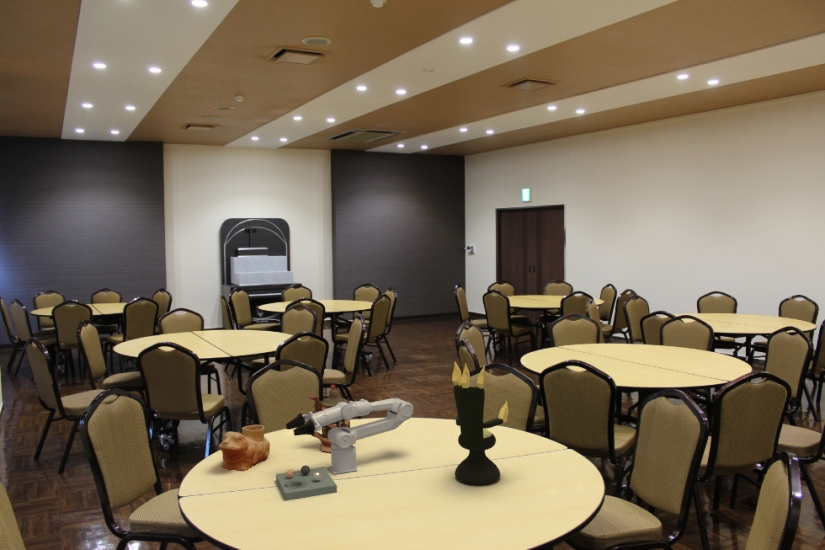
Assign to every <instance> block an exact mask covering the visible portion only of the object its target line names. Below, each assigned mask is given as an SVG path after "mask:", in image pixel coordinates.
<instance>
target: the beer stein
mask: <svg viewBox="0 0 825 550" xmlns="http://www.w3.org/2000/svg"><path fill="white" fill-rule="evenodd" d="M330 388H331V390H329V393H328V397H327V398H325V399H324V400H323V399H322V400H319V396H317V395H315V394H312V395H311V396H309V400H312V401H314V404H313V407H314V411H313V412H312V413H313V414H314V413H317V412H320V411H323V410H325V409H328V408H331V407H335V406H336V405H337V404H338V403H339V402H346V403H349V400H347V399H345V398H343V396H342V395H340V392H339V390H338V389H336V385H335V384H331V385H330ZM335 427H338V428H344V427H349V428H351V419H350V420H347V419H344V418H343V419H342V420H339V421H337V422H334V423H331V424H328V425H326V426H323V427H321V433H320V431H314V432H315V435H310V436H311V437H314V438H317V439H318V440H319V441H320V442H321V445H320V448H321V449H320V451H321V450H323V451H325V452H323V451H321V452H323V453H329V454H331V453H330V452H331V442H330V441H329V439H328V434H329V431H330V430H331V429H332V428H335ZM352 445H353V444H352ZM352 445H351V446H352Z"/></svg>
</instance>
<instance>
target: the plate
mask: <svg viewBox="0 0 825 550" xmlns="http://www.w3.org/2000/svg"><path fill="white" fill-rule="evenodd" d="M293 472H294V475H293V477H292V478H287V477H286V475H285V474H286V472H280V473H276V474H275V477H276V478H275V481H276V483H277V485H278V488H279V490H280V492H281V494H282V496H283V497H284V500H285V501H292V500H298V499H305V498H310V497H316V496H321V495H328V494H333V493H337V492H338V489H337V488H338V485H337V483H336V482H335V481H334V479H333V478H332V477H331V475H330V474H329V473H328V471H327V470H326V468H325V467H324V466H322V467H321V466H320V467H316V468H315V467H314V468H310V472H309V473H308V474H307V475H303V474H302V473H301V470H296V471H294V470H293ZM315 472H319V473H320V474H321V479H320V480H319V481H314V480H313V478H312V476H313V474H314V473H315Z"/></svg>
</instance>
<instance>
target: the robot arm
mask: <svg viewBox="0 0 825 550" xmlns="http://www.w3.org/2000/svg"><path fill="white" fill-rule="evenodd" d="M386 410H387V415H386V417H385V418H382V419H381V418H380V419H378V420H374V421H370V422H366V423H364V424H359V425H354V426H352V427H350V428H349V427H344V428H338V427H335V428H332V429H331V430H330V431H329V434H328V439H329V441H330V442H331V453H330V462H331V463H330V464H331V466H330V465H329V466H328V469H329V471H330V472H331V473H332V474H333V475H337V474H345V473H351V472H352V473H353V472H357V471H358V467H357V466H358V464H357V460H358V459H357V449H356V447H355V444H356V443H357V441H359V440H362V439H366V438H370V437H373V436H377V435H381V434H384V433H387V432H390V431H395V430H396V429H398V428H399V427H400V426H401V425H402V424H403V423H404V422H406V421H408V420H410V419H411V417H412V415H413V413H414V406H413V404H412V403H411V402H409V401H406V400H403V399H401V398H399V397H395V398H394V397H393V398H392V397H391V398H387V399H382V400H378V401H372V402H369V401H368V400H366V399H365V398H364V399H363V398H361V399H360V400H359V401H353V400H349V401H348V403H346V402H339V403H338V404H337V405H336V406H335V407H331V408H328V409H325V410H323V411H320V412H317V413H314V414H313V412H312V411H309V412H308V414H305V413H304V414H303V413H301V412H299V413H298V414H297V416H296V417H294V418H293V419H292V420H290V421H288V422H287V423H285V427H286V430H292V431H293V435H294V436H295V437H297V436H304V435H305V436H311V435H315V432H314V431H316V432H320V431H322V427H323V426H326V425H328V424H331V423H334V422H337V421H339V420H342V419H343V418H344V419H347V420H350V421H351V420H352V419H354V418H355V417H356V418H357V417H361V416H368V415H369V414H370V413H372V412H376V411H377V412H378V411H386ZM351 445H352V446H351ZM353 445H354V446H353Z"/></svg>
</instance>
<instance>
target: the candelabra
mask: <svg viewBox="0 0 825 550" xmlns="http://www.w3.org/2000/svg"><path fill="white" fill-rule="evenodd" d="M485 366H486V365H485V364H484V365H483V366H482V369H481V370H480V372H479V374H478V377H477V381H476V386H470V385H471V381H470V379H471V375H470V371H469V368H468V365H467V363H466V362H465V364H464V367H463V371H461V369H460V367H459V366H458V364H457V362H456V361H454V366H453V371H452V375H451V376H452V378H451V380H452V381H451V382H452V384H453V385H454V386H453V397H454V402H455V406H456V411H457V412H456V413H457V414H456V417H455V425H456V426H457V427H458V426H459V429H460V430H459V431H460V434H459V435H458V436H457V443H458V445H459V446H460V447H461V448H463V449H464V450H468V451H469V452H468V455H467V456H466V457H465V458H464V459H463V460H462V461H461V462H460V463H459V464H458V465H457V467H455V471H454V476H455V478H456V479H457V480H458V481H460V482H461V483H463V484H466V485H472V486H474V485H475V486H482V485H489V484H494V483H495V482H497V481H498V479H499V478H501V471H500V469H499V467H498V465H497V464H495V462H494V461H492V460H491V459H490V458H489V457H488V456H487V455H486V451H487V450H490V449H492V448H494V446H495V445H496V443H497V437H496V436H495V434H493V433H492V432H491V431H490V430H488V429H491V428H494V427H496V426H497V427H498V426H501V425H502V424H505V423H507V422H508V416H509V405H508V400H505V403H504V404H503V406H501V408H500V410H499V414H498V417H496V418H493V419H490V420H488V421H484V414H485V413H484V410H485V398H486V391H485V388H484V385H485V380H486V368H485Z"/></svg>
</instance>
